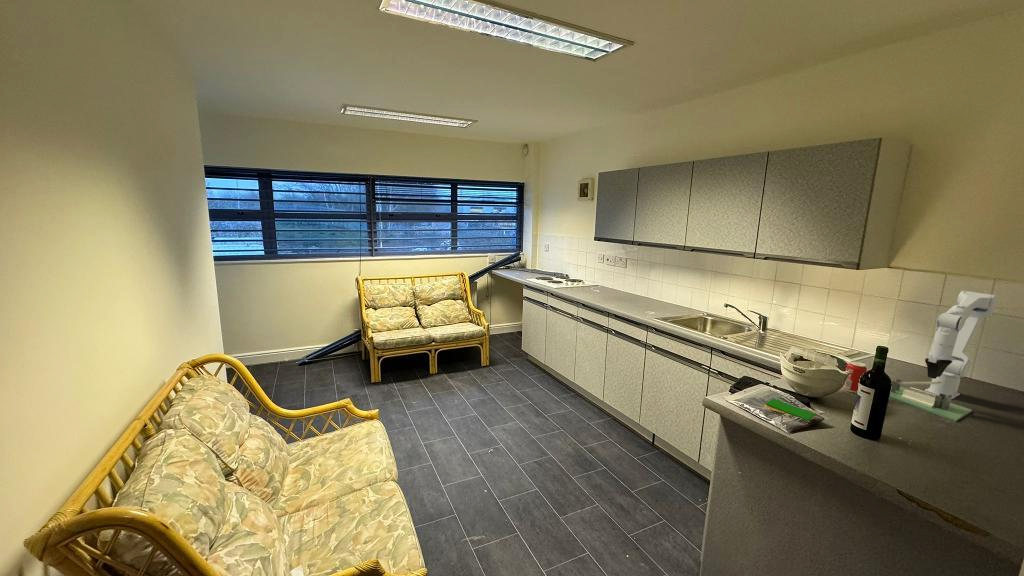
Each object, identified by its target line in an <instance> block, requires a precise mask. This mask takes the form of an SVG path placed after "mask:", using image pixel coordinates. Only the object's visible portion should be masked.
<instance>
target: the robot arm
mask: <svg viewBox="0 0 1024 576" xmlns="http://www.w3.org/2000/svg"><path fill="white" fill-rule="evenodd" d="M956 300H957V301H956V302H957V304H955V305H953V306H951V307H950V309H948V310H947V311H946V312H943V313H939V314H938V316H937V318H936V320H935V327H934V328H935V329H934V331H935V334H934V338H933V341H932V343H931V347H930V350H929V352H928V355H929V357H926V358H924V361H925V365H926V367H927V368H926V369H927V370H926V371H927V377H928V378H930V379H931V381H930V382H945V383H944V384H929V385H930V386H929V387H928V388H926V389H924V391H925V392H928V393H931V394H935V395H938V396H939V395H940V393H942V394H945V395H946V396H948V395H952V399H951V400H953V399H955V398H957V397H958V396H960V392H958V389H959V386H960V383H961V378H963V377H965V376H966V375H967V374H968V372H969V370H970V367H971V366H970V365H971V364H972V361H971V358H970V357H968V355H966V354H965V352H966V351H967V348H968V347H969V344H970V342H971V340H972V338H973V336H974V334H975V332H976V331H977V328H978V326H979V324H980V323H981V321H983V319H985V318H991V316H992V315H993V313H994V311H995V309H996V307H997V305H998V301H999V297H998V295H997V294H990V293H989V294H988V293H983V292H982V293H981V292H975V291H969V290H961V291H960V293H959V294H958V297H957V299H956Z"/></svg>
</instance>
